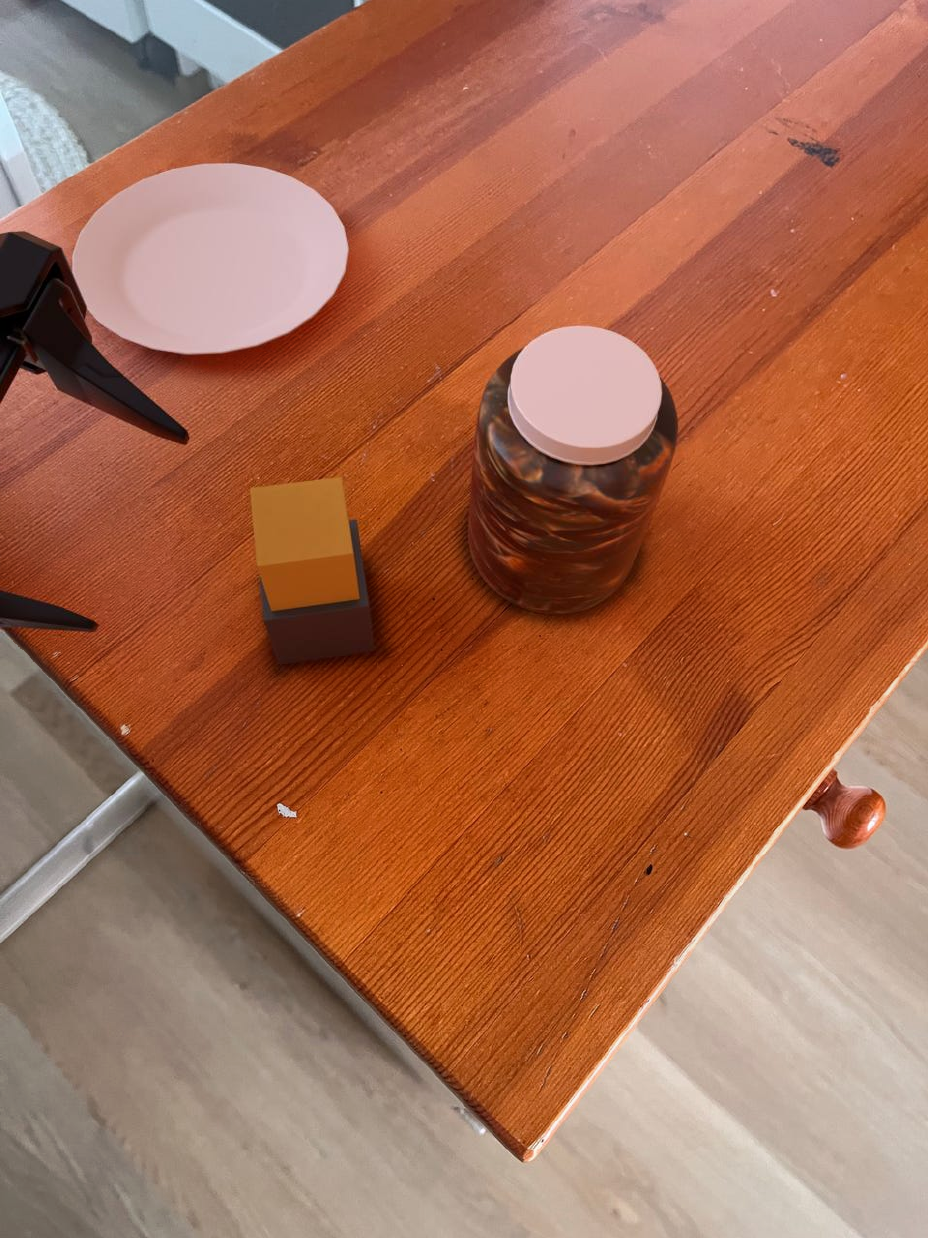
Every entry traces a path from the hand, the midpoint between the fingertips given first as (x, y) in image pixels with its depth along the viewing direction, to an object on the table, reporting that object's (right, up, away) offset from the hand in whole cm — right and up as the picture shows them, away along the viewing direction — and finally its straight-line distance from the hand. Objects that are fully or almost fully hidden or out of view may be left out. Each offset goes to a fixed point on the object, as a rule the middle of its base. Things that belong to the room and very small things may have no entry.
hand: (142, 530), depth 39 cm
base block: (+5, -4, +18) cm, 19 cm away
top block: (+5, -1, +13) cm, 14 cm away
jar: (+20, +2, +22) cm, 30 cm away
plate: (-6, +23, +32) cm, 40 cm away
